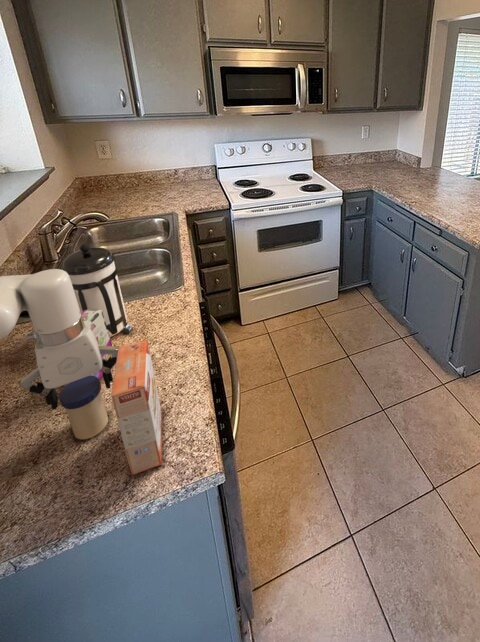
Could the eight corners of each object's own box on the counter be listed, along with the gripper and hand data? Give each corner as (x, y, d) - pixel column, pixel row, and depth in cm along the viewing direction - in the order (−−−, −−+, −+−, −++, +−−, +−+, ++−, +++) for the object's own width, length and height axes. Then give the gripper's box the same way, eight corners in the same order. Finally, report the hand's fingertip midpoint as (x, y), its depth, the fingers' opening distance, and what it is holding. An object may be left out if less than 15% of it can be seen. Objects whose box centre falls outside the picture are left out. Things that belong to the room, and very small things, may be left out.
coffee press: (63, 351, 102) (33, 258, 91) (99, 316, 117) (77, 232, 106) (121, 354, 101) (97, 260, 90) (150, 318, 116) (133, 234, 105)
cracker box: (164, 464, 72) (146, 385, 65) (130, 477, 70) (108, 396, 62) (163, 409, 84) (148, 337, 77) (135, 418, 82) (116, 345, 75)
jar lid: (60, 415, 72) (57, 409, 72) (62, 390, 78) (60, 384, 77) (101, 399, 76) (99, 393, 75) (100, 376, 82) (99, 370, 81)
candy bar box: (98, 358, 99) (84, 309, 94) (116, 358, 99) (103, 308, 94) (72, 391, 89) (54, 338, 83) (92, 391, 89) (75, 338, 83)
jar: (73, 445, 76) (60, 408, 72) (74, 421, 81) (62, 386, 77) (109, 430, 79) (98, 394, 75) (107, 408, 84) (97, 373, 81)
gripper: (1, 358, 64) (30, 427, 70) (111, 324, 72) (129, 388, 78) (8, 334, 70) (35, 399, 76) (110, 305, 78) (126, 366, 84)
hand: (82, 393), depth 77 cm, fingers open, 9 cm apart
